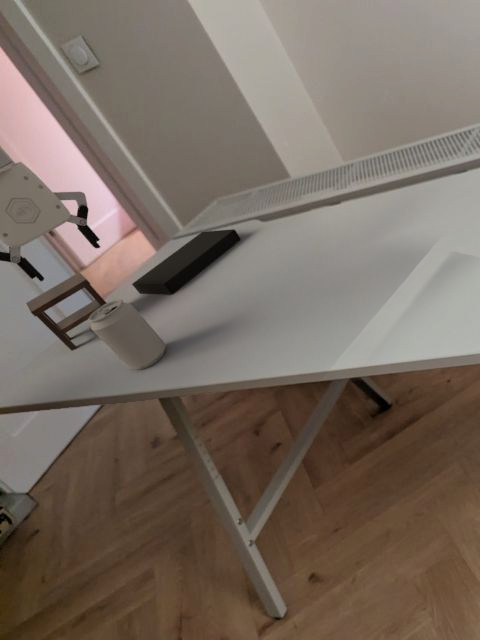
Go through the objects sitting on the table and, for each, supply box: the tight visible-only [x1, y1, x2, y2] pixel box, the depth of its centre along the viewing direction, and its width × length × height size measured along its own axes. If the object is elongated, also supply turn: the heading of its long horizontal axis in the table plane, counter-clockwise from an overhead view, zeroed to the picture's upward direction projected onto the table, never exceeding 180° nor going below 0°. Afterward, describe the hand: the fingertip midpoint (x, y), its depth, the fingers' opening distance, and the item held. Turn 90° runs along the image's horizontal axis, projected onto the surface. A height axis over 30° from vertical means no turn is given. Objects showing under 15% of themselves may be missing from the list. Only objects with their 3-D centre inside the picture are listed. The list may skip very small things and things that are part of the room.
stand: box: [25, 272, 107, 351], centre depth 119 cm, size 12×9×11 cm
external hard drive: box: [131, 228, 242, 296], centre depth 133 cm, size 14×23×3 cm, turn 153°
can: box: [88, 298, 167, 370], centre depth 98 cm, size 8×8×12 cm
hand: (70, 262), depth 90 cm, fingers open, 9 cm apart
